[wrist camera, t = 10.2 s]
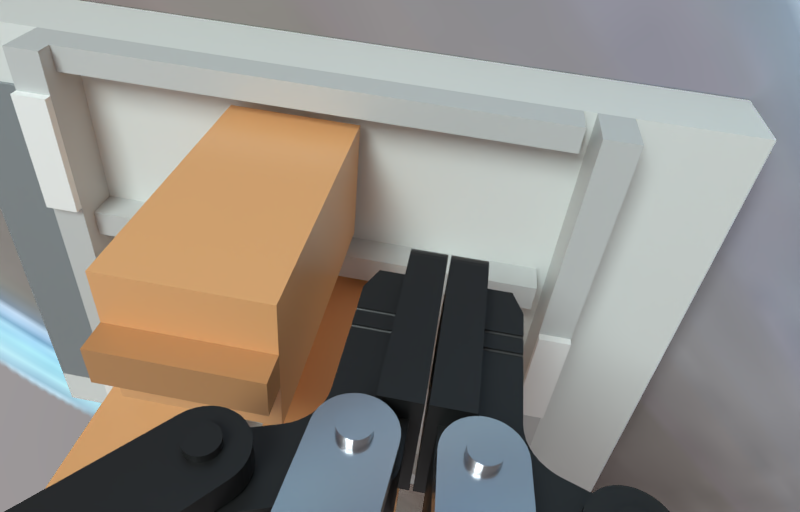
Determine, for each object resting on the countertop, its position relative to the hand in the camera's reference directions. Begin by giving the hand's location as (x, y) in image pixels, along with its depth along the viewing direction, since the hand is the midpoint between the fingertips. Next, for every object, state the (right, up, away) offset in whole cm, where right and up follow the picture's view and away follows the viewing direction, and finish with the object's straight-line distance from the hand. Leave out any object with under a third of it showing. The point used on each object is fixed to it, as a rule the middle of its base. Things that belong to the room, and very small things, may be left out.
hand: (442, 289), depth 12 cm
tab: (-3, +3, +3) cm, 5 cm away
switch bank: (-3, 0, +7) cm, 8 cm away
